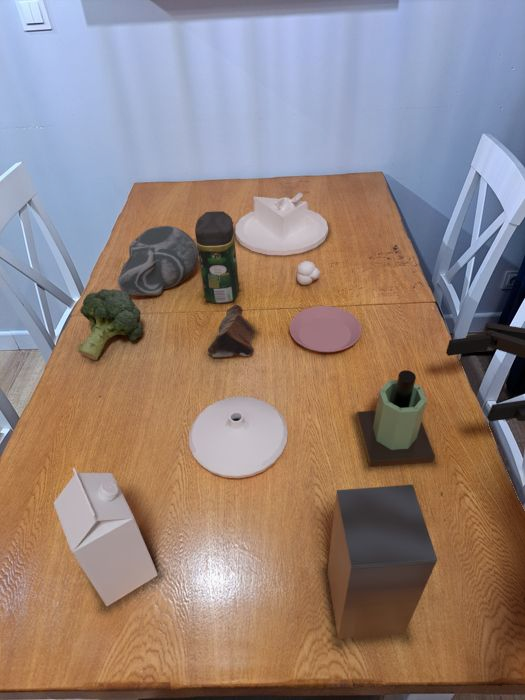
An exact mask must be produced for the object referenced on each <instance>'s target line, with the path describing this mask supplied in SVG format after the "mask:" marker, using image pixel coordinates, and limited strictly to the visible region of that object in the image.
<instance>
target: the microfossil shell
mask: <svg viewBox="0 0 525 700" xmlns="http://www.w3.org/2000/svg"><path fill="white" fill-rule="evenodd" d="M296 267H297V268H296V272H297V273H296V280H297V282H298V283H299V284H300V285H301V286H308V285H310V284H311V283H312V282H313V281H316V280H318V279H319V278H320V275H321V271H320V270H319V268H318V267H316V265H315V263H313V262H312V261H310V260H304V261H301V262H300V263H299V264H298V266H296Z"/></svg>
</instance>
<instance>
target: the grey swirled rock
mask: <svg viewBox="0 0 525 700" xmlns="http://www.w3.org/2000/svg"><path fill="white" fill-rule="evenodd" d="M128 256H129V258H128V259H127V261H126V262H124V263H123V265H122V267H121V270H120V273H119V275H118V276H117V284H118V288H119V289H120V291H126V292H127V293H128V294H129V295H130V296H159V295H161V294H162V293H163V291H164V289H171V288H174V287H176V286H178V285H180V284H181V283H183V282H184V281H185V280H187V279H188V278H189V277H190V276H191V275H192V273H193V272H194V271H195V269H196V267H197V265H198V262H199V254H198V248H197V242H196V241H195V240H194V239H193V237H191V235H190V234H188V233H187V232H185V231H184V230H182V229H181V228H179V227H176V226H173V225H159V226H158V225H157V226H153V227H150V228H148V229H145V230H144V231H142V232H141V233H140V235H138V236H137V237H136V238H135V239H134V240H132V241H131V242H130V244H129V245H128Z"/></svg>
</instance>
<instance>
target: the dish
mask: <svg viewBox="0 0 525 700" xmlns="http://www.w3.org/2000/svg"><path fill="white" fill-rule="evenodd" d="M302 197H303V193H302V192H298V193H297V194H295V195H294V197H292V198H290V197H285V196H284V197H281V198H274V197H266V196H265V197H263V196H253V210H252V211H250V212H248V213H247V214H245V215H243V216H242V217H240V218H239V220H238V221H237V222H236V223H235V231H234V235H235V239H236V240H237V241H238V243H239V244H240V245H241V246H243V248H246V249H248V250H249V251H252V252H254V253H259V254H262V255H267V256H290V255H298V254H302V253H303V254H304V253H305V252H308V251H310V250H314V249H316V248H317V247H318V246H319V245H321V244H322V243H323V242H325V240H326V238H327V236H328V234H329V226H328V222H327V220H326V219H325V218H324V217H323V216H322V215H321V214H320V213H318V212H316V211H313V210H311V209H309V208H308V204H309V203H308V201H305V200H300V199H301V198H302Z"/></svg>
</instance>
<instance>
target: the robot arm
mask: <svg viewBox="0 0 525 700" xmlns="http://www.w3.org/2000/svg"><path fill="white" fill-rule="evenodd" d="M489 348H490V349H494V350H497V351H501V352H504V353H506V354H510V355H513V356H515V357H519V358H523V359H525V327H520V326H512V325H507V324H499V323H495V322H486V323H485V325H484V328H483V331H482V333H476V334H469V335H466V336H465V337H463V338H455V339H449V340H448V344H447V347H446V351H445V354H446V355H447V356H449V357H450V356H457V355H464V354H472V353H479V352H480V353H481V352H487V351H488V349H489ZM486 419H487V420H488V421H489V423H490V422H496V421H497V422H498V421H504V420H511V419H516V421H519V422H525V399H523V400H516V401H509V402H502V403H494V404H492V405H491V407H490V409H489V411H488V414H487V417H486Z"/></svg>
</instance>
